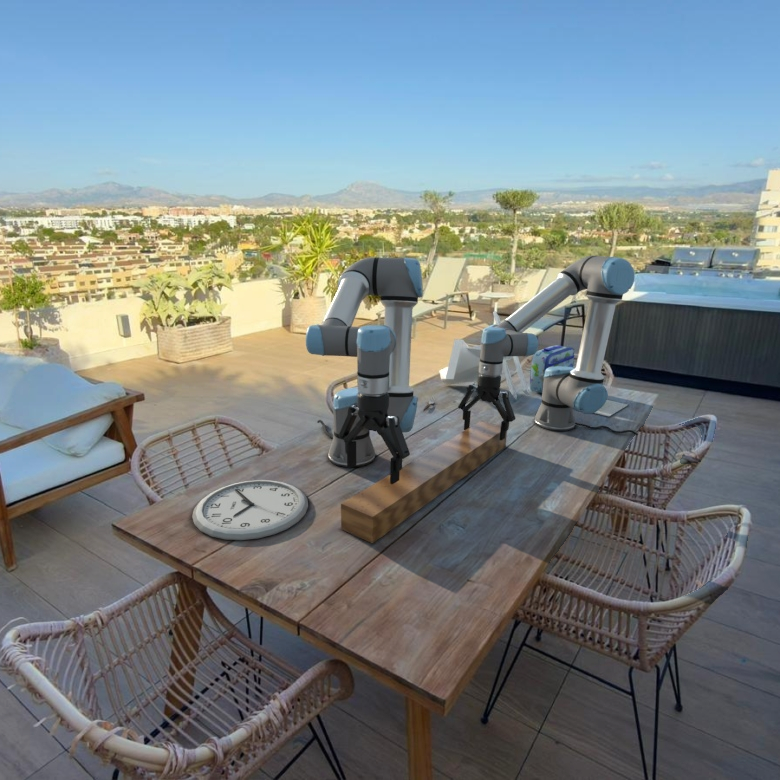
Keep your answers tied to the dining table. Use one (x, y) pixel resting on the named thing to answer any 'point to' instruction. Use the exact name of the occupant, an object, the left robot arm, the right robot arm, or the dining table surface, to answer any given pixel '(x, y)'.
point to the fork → (430, 403)
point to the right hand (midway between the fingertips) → (483, 434)
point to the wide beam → (419, 482)
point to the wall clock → (250, 510)
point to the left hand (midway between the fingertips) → (372, 473)
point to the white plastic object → (476, 365)
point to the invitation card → (610, 408)
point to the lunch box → (548, 363)
